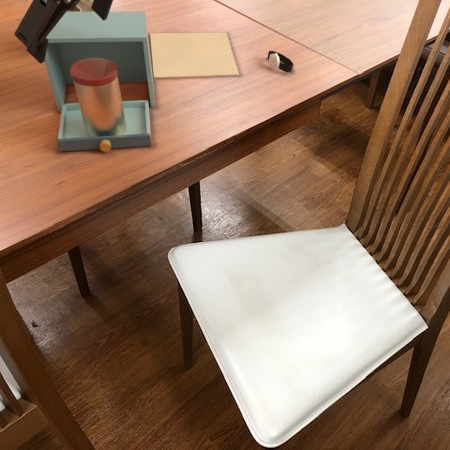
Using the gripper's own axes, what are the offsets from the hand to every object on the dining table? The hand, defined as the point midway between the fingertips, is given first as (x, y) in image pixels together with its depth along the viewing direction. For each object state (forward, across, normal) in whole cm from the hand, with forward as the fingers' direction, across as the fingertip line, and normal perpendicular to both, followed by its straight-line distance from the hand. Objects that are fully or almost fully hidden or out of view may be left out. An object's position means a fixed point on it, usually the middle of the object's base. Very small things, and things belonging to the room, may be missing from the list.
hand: (68, 34), depth 82 cm
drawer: (+11, -2, -13) cm, 17 cm away
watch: (+10, +37, -27) cm, 47 cm away
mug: (+37, +23, +13) cm, 46 cm away
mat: (+19, +29, -12) cm, 36 cm away
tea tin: (+10, -3, -13) cm, 17 cm away
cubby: (+17, +5, -7) cm, 19 cm away
